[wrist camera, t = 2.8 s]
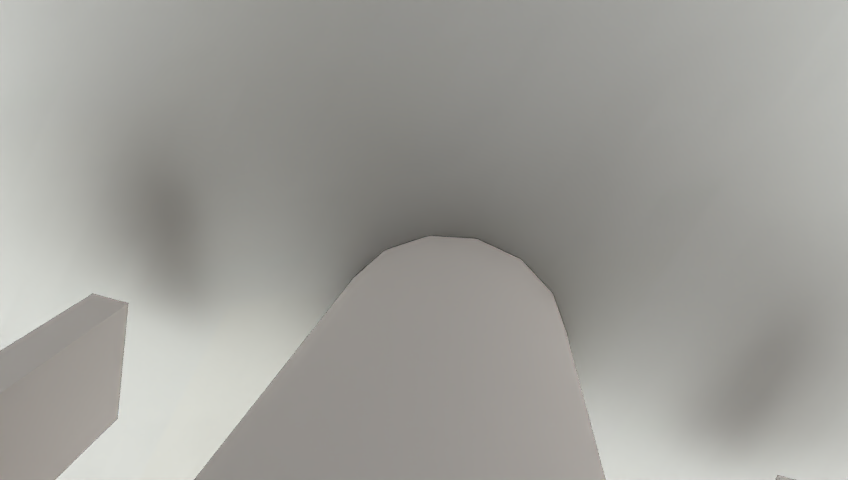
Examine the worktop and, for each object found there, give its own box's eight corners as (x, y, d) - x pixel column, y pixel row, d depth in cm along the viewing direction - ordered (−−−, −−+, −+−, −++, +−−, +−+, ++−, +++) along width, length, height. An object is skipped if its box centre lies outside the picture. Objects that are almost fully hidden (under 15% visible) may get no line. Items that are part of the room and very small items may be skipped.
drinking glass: (265, 298, 17) (-45, 643, 8) (496, 163, 15) (464, 395, 6) (408, 499, 18) (292, 1006, 9) (636, 396, 17) (795, 893, 7)
